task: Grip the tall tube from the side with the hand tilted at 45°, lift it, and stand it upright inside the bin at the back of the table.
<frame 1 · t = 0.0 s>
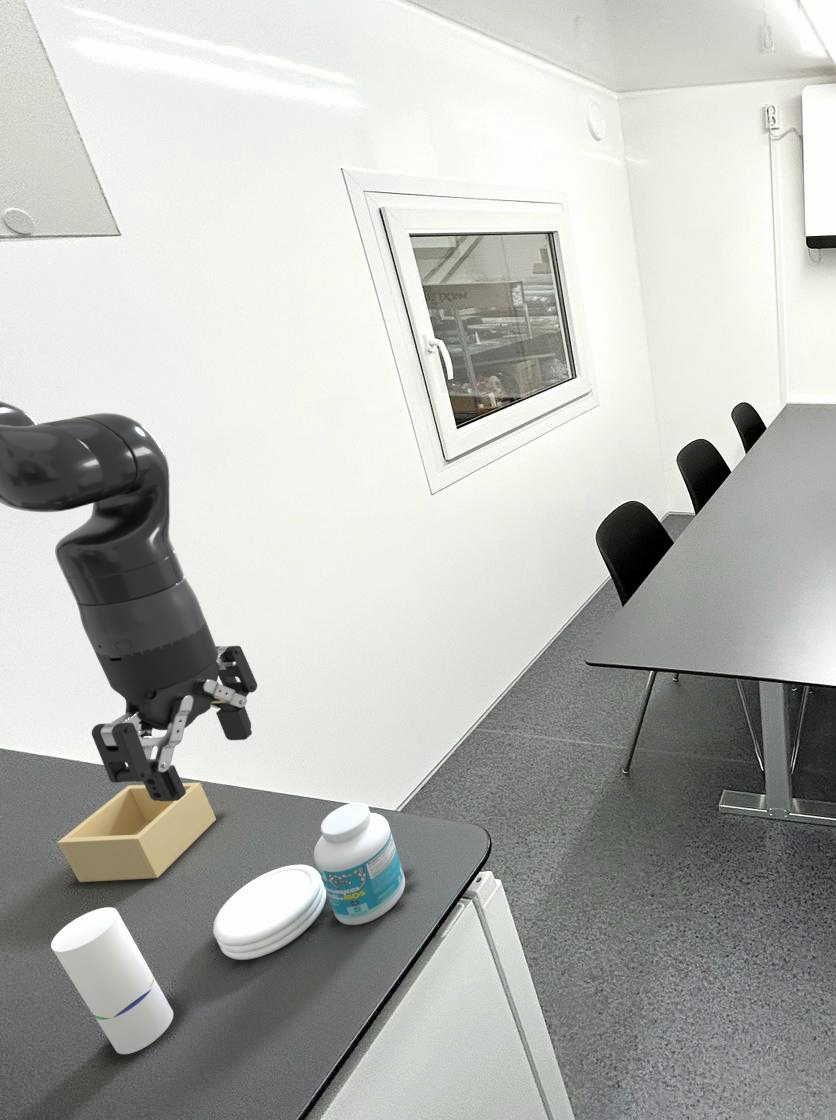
hand: (208, 766, 64), 25 cm above the table, tool pointing down, fingers open, 8 cm apart
tube: (145, 1031, 64), on the table
bin: (151, 849, 84), on the table
white round stack: (277, 921, 75), on the table
pill bottle: (372, 901, 77), on the table
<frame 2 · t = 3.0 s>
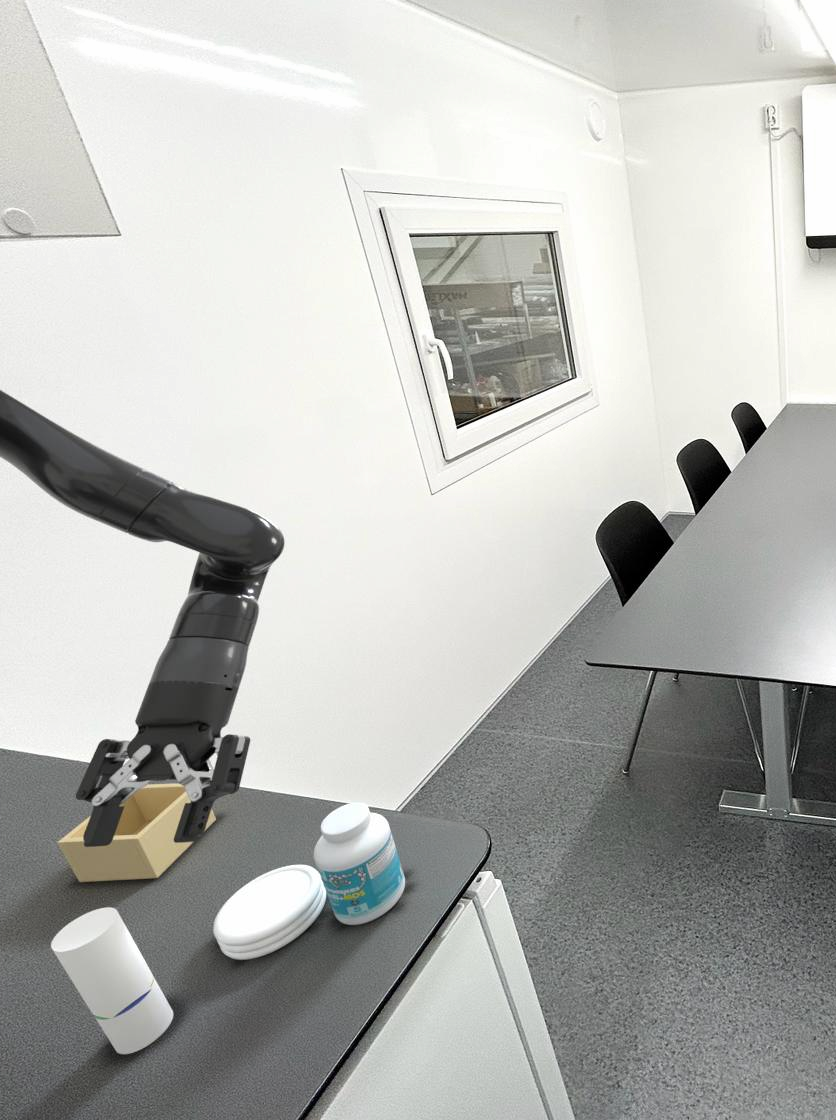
hand: (141, 844, 64), 18 cm above the table, tool tilted 45°, fingers open, 8 cm apart
nothing on the table moved.
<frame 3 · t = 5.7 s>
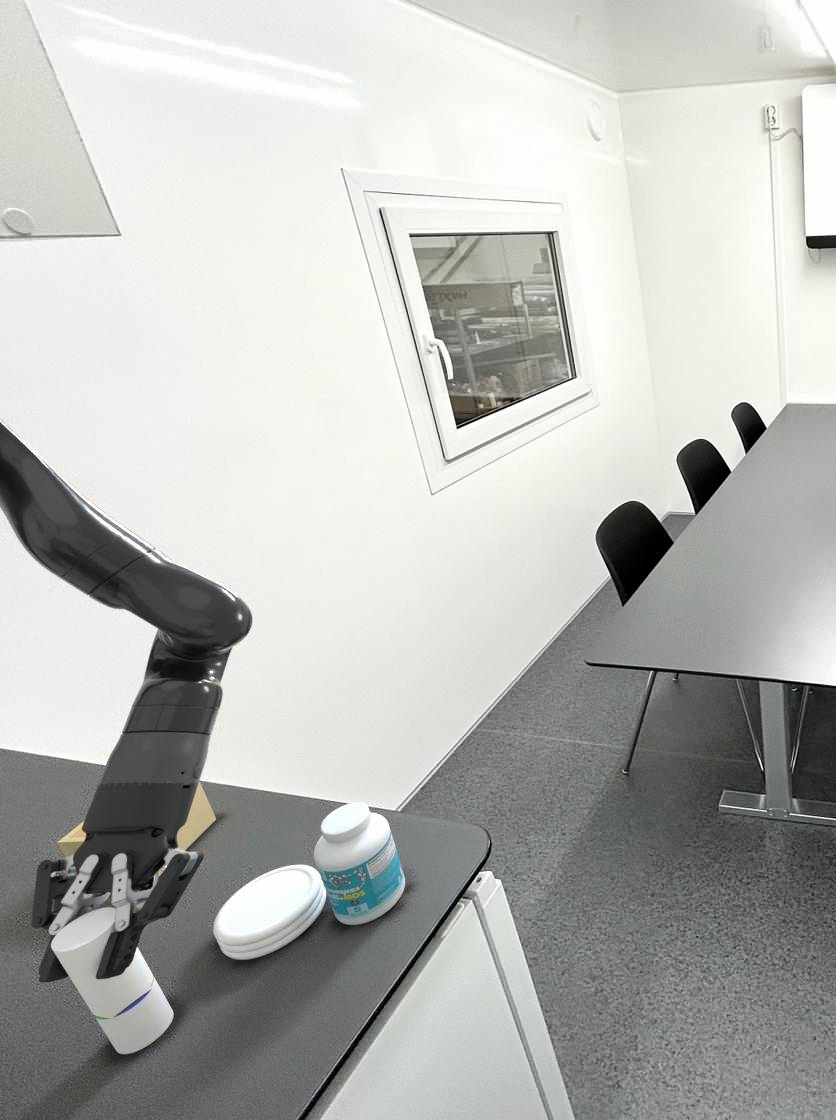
hand: (82, 977, 58), 11 cm above the table, tool tilted 45°, fingers closed on tube, 4 cm apart
tube: (145, 1031, 64), on the table, touching gripper
everything else where it was.
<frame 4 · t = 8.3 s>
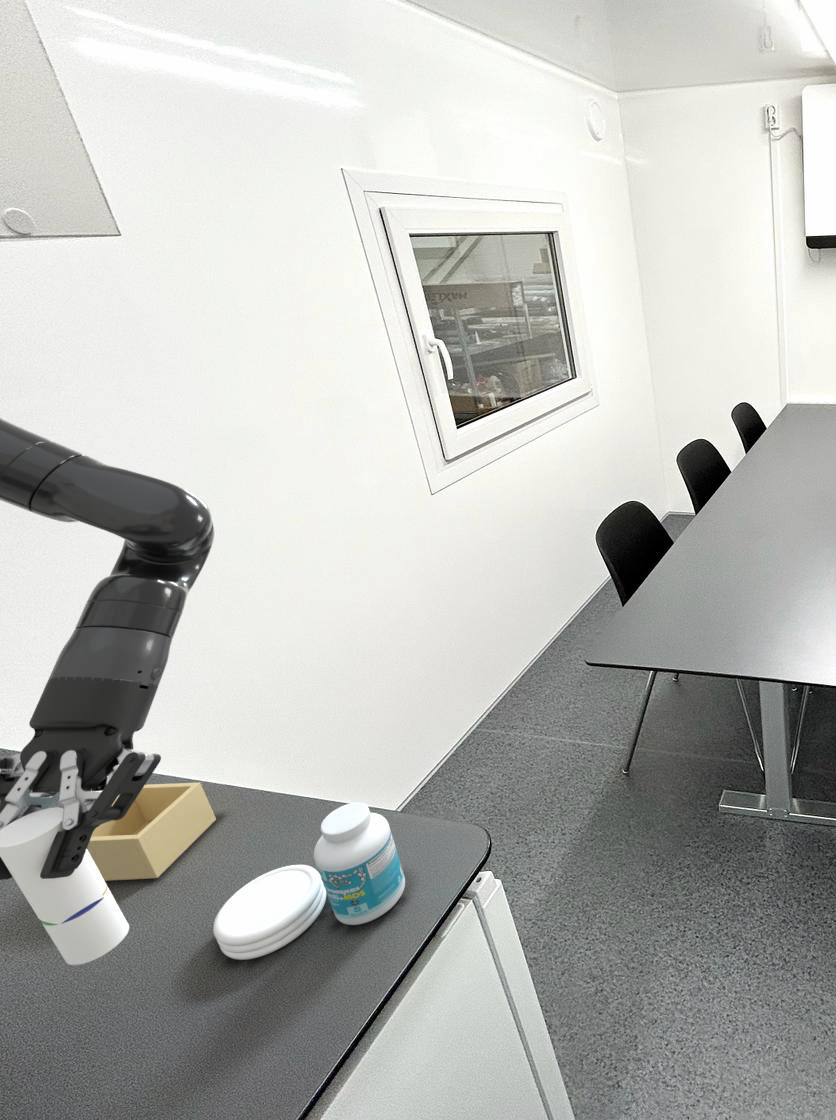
hand: (26, 877, 54), 23 cm above the table, tool tilted 45°, fingers closed on tube, 4 cm apart
tube: (98, 943, 60), point 12 cm above the table, touching gripper
everything else where it was.
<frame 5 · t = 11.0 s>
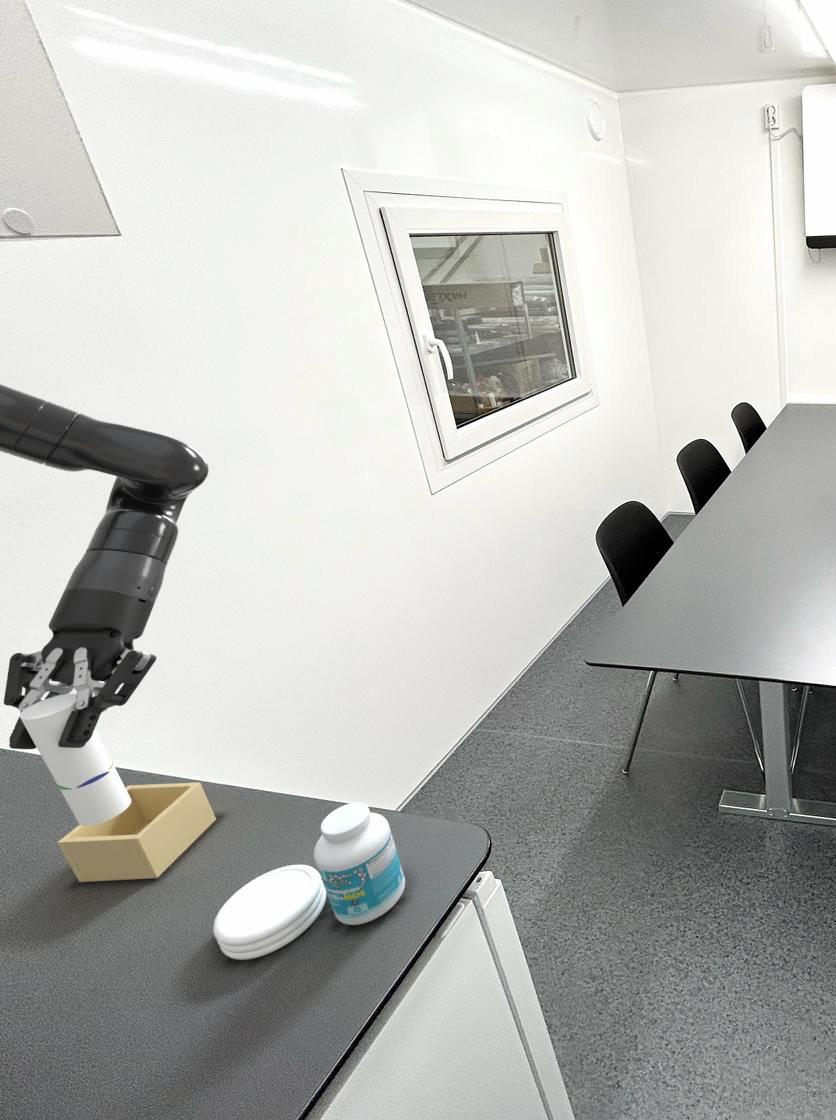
hand: (47, 747, 67), 25 cm above the table, tool tilted 45°, fingers closed on tube, 4 cm apart
tube: (106, 812, 73), point 14 cm above the table, touching gripper
everything else where it was.
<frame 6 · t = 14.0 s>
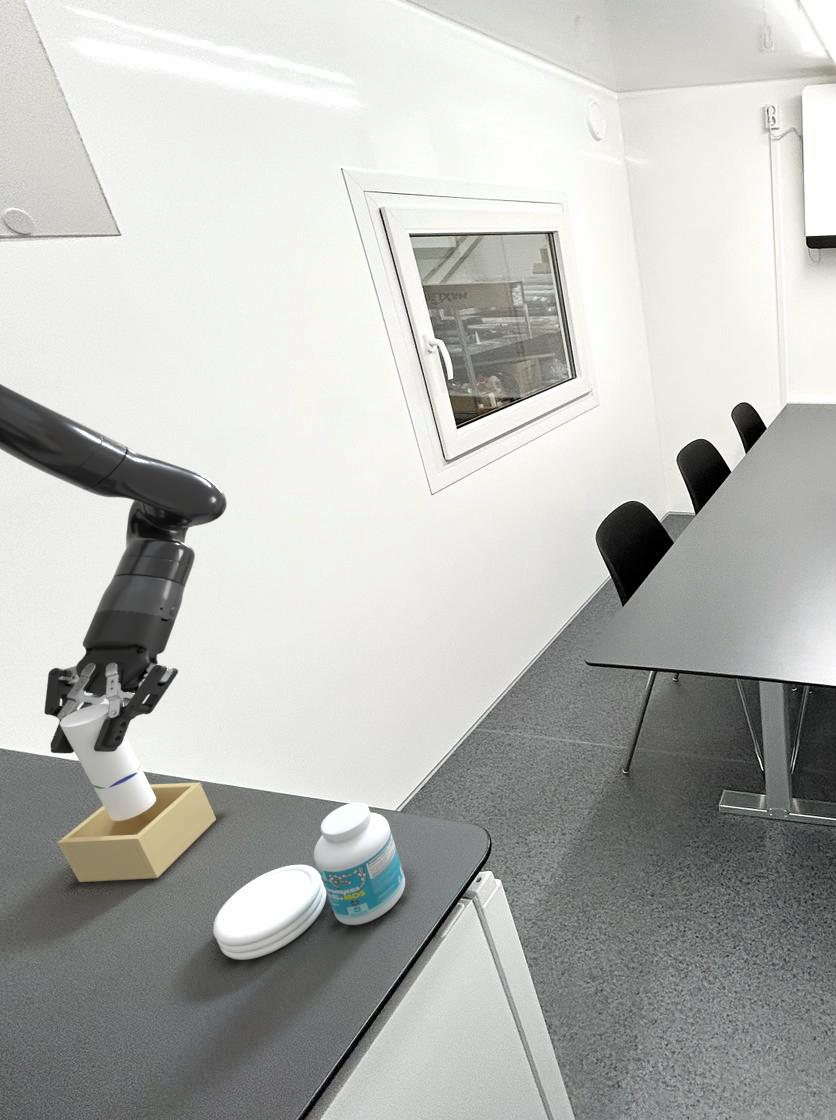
hand: (83, 751, 76), 18 cm above the table, tool tilted 45°, fingers closed on tube, 4 cm apart
tube: (134, 808, 82), point 7 cm above the table, touching gripper
everything else where it was.
when the fingers open (12 cm above the table, at t = 16.1 s): tube stays where it is, resting on bin.
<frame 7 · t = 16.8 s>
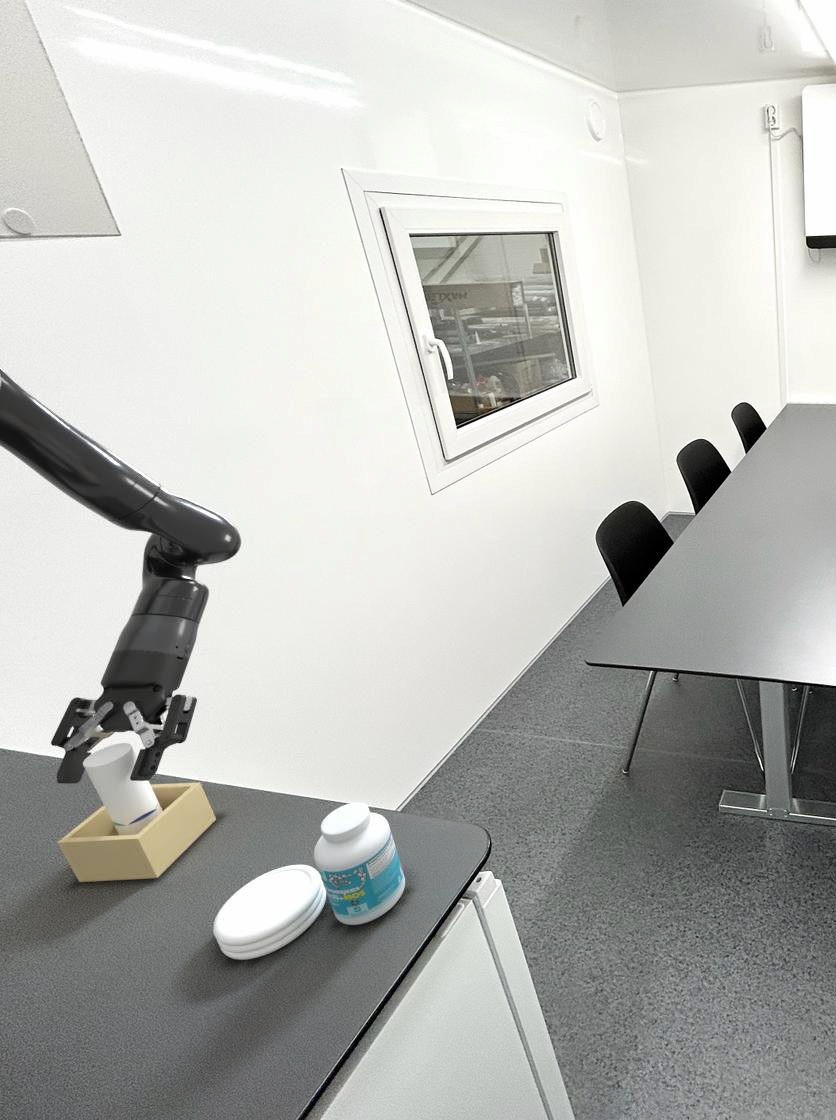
hand: (104, 782, 78), 13 cm above the table, tool tilted 45°, fingers open, 8 cm apart
tube: (152, 844, 84), point 1 cm above the table, touching bin
everything else where it was.
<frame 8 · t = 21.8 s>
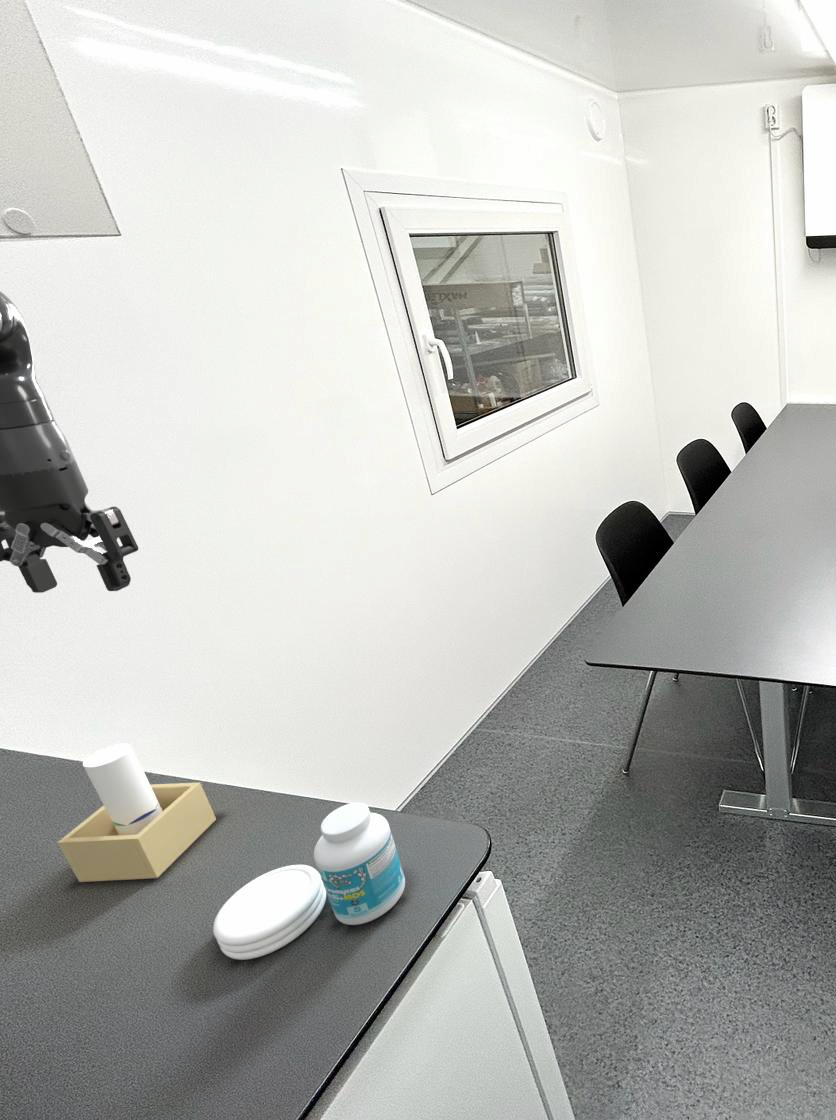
hand: (83, 589, 77), 36 cm above the table, tool pointing down, fingers open, 8 cm apart
nothing on the table moved.
at the end: tube inside the target area in the bin (0.2 cm from its centre), point 0.6 cm above the bin's base; tube tilted 0° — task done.
